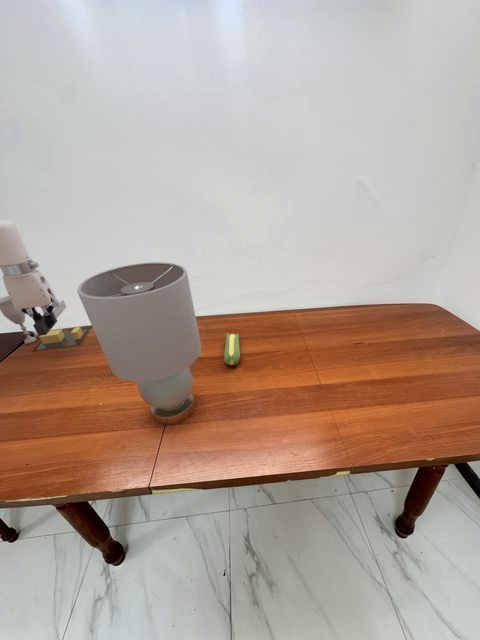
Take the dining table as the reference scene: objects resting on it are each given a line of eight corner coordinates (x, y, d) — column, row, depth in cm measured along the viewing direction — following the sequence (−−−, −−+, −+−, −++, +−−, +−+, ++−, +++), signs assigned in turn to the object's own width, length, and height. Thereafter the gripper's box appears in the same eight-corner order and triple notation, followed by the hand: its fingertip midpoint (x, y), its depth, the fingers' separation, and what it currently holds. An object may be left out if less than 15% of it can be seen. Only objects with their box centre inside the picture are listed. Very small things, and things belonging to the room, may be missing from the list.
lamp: (156, 381, 86) (117, 261, 67) (222, 386, 83) (200, 261, 64) (117, 435, 70) (50, 297, 51) (196, 444, 67) (157, 299, 47)
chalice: (27, 350, 106) (0, 304, 96) (16, 347, 108) (-11, 302, 98) (47, 340, 111) (24, 296, 101) (36, 337, 114) (12, 293, 104)
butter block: (43, 343, 106) (39, 336, 104) (47, 338, 109) (44, 331, 108) (60, 341, 107) (57, 334, 105) (65, 336, 110) (61, 329, 109)
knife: (38, 335, 89) (32, 325, 87) (62, 307, 106) (58, 298, 104) (46, 334, 90) (40, 324, 88) (69, 306, 106) (65, 297, 104)
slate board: (37, 353, 104) (35, 350, 103) (51, 336, 113) (49, 333, 113) (79, 348, 105) (77, 344, 104) (89, 332, 115) (88, 328, 114)
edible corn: (224, 370, 89) (222, 358, 87) (226, 337, 106) (224, 326, 104) (241, 369, 89) (239, 356, 87) (240, 335, 106) (239, 324, 104)
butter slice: (74, 339, 107) (70, 332, 106) (77, 334, 111) (74, 327, 109) (79, 339, 108) (76, 332, 106) (83, 333, 111) (80, 326, 109)
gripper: (54, 261, 87) (78, 317, 97) (-6, 267, 85) (25, 323, 95) (43, 269, 81) (70, 328, 91) (-22, 275, 78) (13, 335, 88)
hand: (47, 325), depth 93 cm, fingers closed on knife, 2 cm apart
